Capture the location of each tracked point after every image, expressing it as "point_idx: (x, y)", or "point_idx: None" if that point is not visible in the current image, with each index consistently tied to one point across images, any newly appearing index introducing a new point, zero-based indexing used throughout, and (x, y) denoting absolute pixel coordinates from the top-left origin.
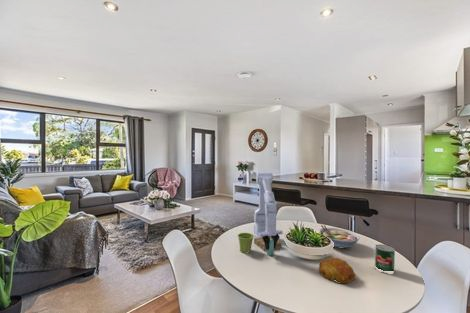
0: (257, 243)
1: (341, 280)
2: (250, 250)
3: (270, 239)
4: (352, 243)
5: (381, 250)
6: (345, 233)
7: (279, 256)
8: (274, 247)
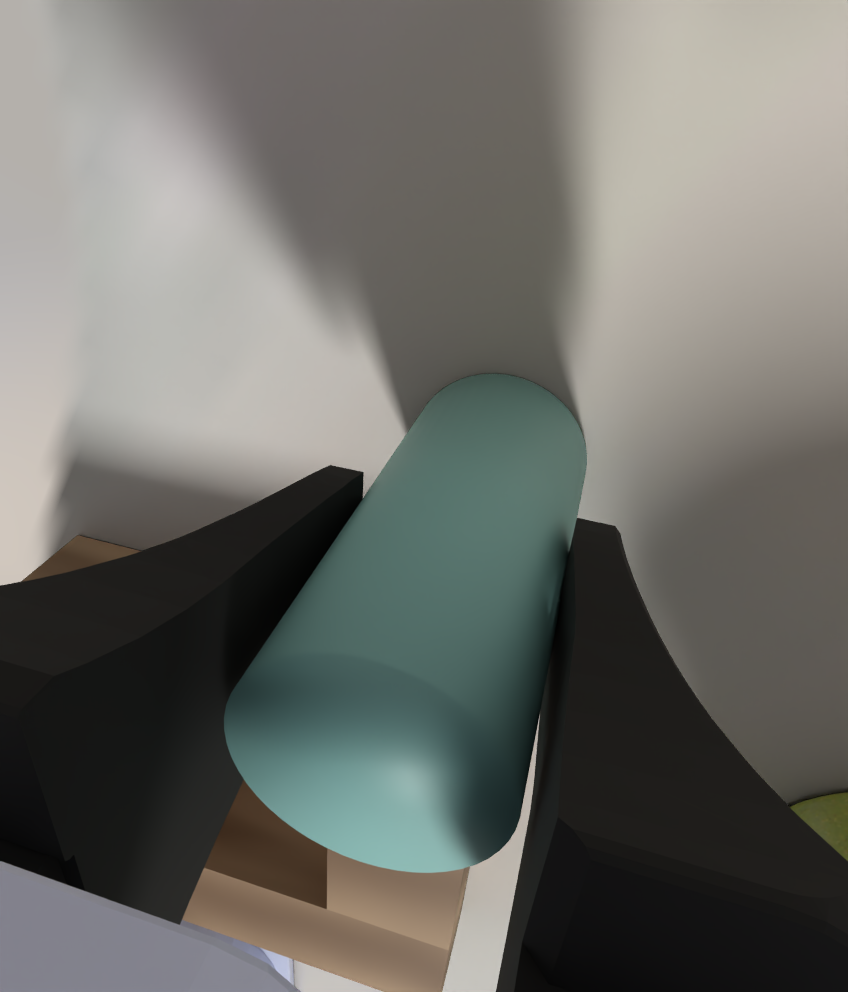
0: (465, 877)
1: None
2: (825, 812)
3: (346, 792)
4: None
5: None
6: None
7: (352, 230)
8: (344, 481)
